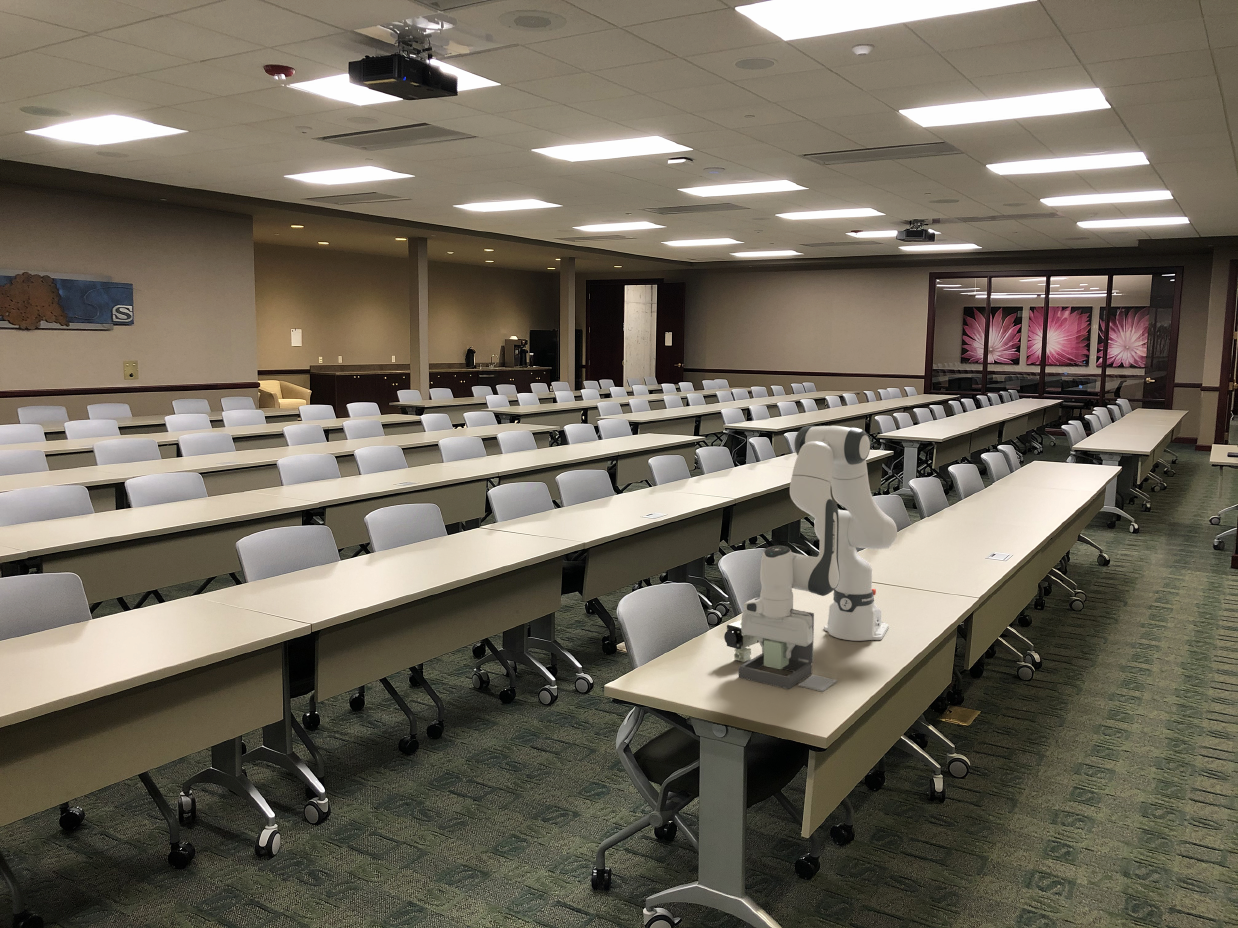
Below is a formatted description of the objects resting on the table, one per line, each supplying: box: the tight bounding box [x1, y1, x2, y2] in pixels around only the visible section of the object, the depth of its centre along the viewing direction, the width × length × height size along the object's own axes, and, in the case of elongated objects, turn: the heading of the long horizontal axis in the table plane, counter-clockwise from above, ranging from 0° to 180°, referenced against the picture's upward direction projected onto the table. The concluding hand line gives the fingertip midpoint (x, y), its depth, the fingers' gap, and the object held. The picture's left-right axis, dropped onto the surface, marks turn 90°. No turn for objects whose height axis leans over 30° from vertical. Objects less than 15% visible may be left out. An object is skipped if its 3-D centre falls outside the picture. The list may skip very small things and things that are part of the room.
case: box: [738, 611, 815, 690], centre depth 245 cm, size 15×15×17 cm
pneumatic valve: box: [723, 619, 759, 663], centre depth 257 cm, size 6×12×12 cm, turn 135°
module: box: [763, 639, 789, 670], centre depth 245 cm, size 5×5×8 cm
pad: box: [797, 674, 838, 693], centre depth 239 cm, size 9×7×1 cm
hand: (776, 655), depth 245 cm, fingers closed on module, 5 cm apart
